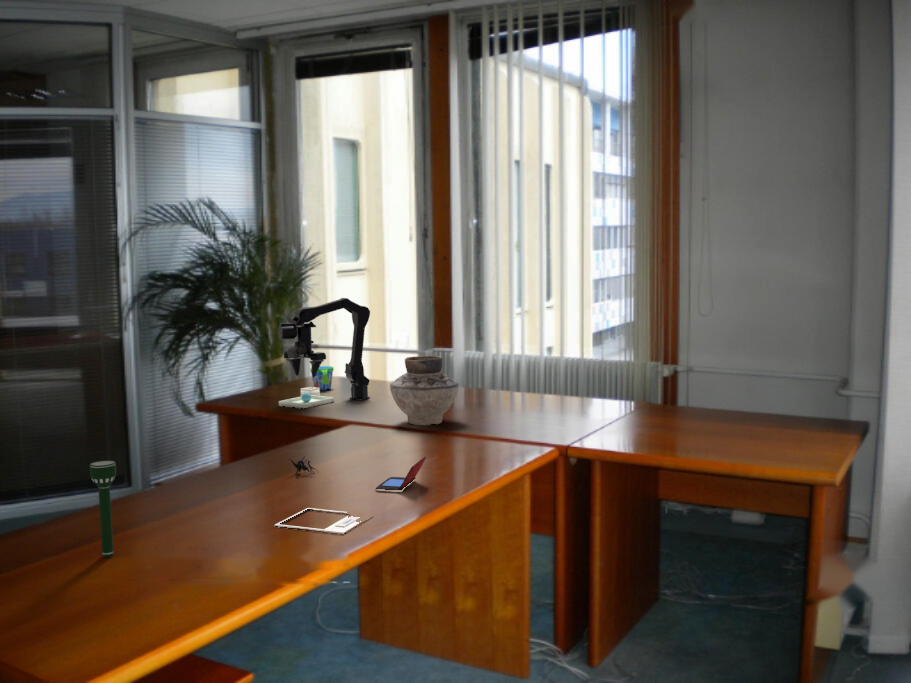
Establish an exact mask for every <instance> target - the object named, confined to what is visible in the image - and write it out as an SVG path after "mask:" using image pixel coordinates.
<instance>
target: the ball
mask: <svg viewBox="0 0 911 683" xmlns="http://www.w3.org/2000/svg"><path fill="white" fill-rule="evenodd" d="M300 397H301V396H300ZM301 398H302V400H303V401H304V402H309V401H310V400H311V395H310V394H309V393H304V394H302V397H301Z"/></svg>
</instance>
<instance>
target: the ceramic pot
mask: <svg viewBox="0 0 911 683" xmlns="http://www.w3.org/2000/svg"><path fill="white" fill-rule="evenodd" d="M404 365H405V370H406V373H403V374H402V375H400V376H399V377H397V378H395V379H394V380H393V381H392V382H391V383H390V384H389V390H390V393H391V396H392V398H393V401H394V402H395V404H396V406H397V407H398V408H399V409H400V411H401V412H402V413H404V415H406V417H407V423H409V424H411V425H413V424H414V426H415V425H416V426H432V425H431V424H436V425H439V424H441V423H442V422H443V415H444V414H445V413H446V412H447V411H448V410H449V409H450V408H451V406H452V405H453V404H454V402H455V399H456V398H457V395H458V392H459V386H460V384H459V383H458V382H457V381H456V380H455V379H453V378H452V377H450V376H449V375H447V374H445V373H442V372H441V371H442V368H443V358H442V356H439V355H417V356H408V357H405V358H404Z"/></svg>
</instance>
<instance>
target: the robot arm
mask: <svg viewBox="0 0 911 683" xmlns="http://www.w3.org/2000/svg"><path fill="white" fill-rule="evenodd" d="M342 309H344V310H346V311H347V312H348V313H350V314H351V320H352V324H353V333H352V344H351V354H350V361H349V362H348V363H346V362H345V364H344V366H345V370H344V373H345V377H346V378H347V379H348V380H349V382H350V384H351V388H350V391H351V392H350V393H351V394H350V395H351V397H349V399H350V400H356V399H363V400H366V399H365V398H368V399H370V398H371V396H368V395H369V392H368V390H369V389H368V388H369V387H368V386H369V384H370V382H371V381H370V379H369V378H368V377H367V376H365V369H364V365H363V351H364V338H365V329H366V326H367V325H368V323H369V319H370V315H371V310H370V309H369V307H367V306H366V305H365V306H364V305H360V304H359V303H356V302H354V301H352V300H350V299H349V298H348V297H341V298H339V299H337V300H336V299H335V300H332V301H329V302H326V303H323V304H319V305H317V306H307V307H299V308H297V309H296V310H295V313H294V317H293V318H292V319H291V321H290V322H289V323H287V322H286V323H284V322H280V323H279V327H278V331H277V335H278V339H279V340H280V341H285V340H289V341H290V340H295V339H297V340H296V341H295V342H294V346H292V347H290V348H288V349H287V350H286V351H285V352H284V353H283V359H286V361H288V362H289V363H290V364H291V366H292V369H293V372H294V374H295V376H296V377H298V376H299V374H300V368H301V358H303V359H305V358H307V359H309V364H311V368H312V374H311V378H312V377H315V376H316V373H317V371H318V369H319V367H320V366H322V363H323V362H324V361H325V360H327V355H326V353H325V352H322V351H321V352H315V351H314V350H313V348H312V347H313V345H312V344H314V343H315V341H314V340H312V328H317V325H316V324H314V322H313V320H315V319H316V318H318V317H320V316H322V315H326V314H329V313H332V312H335V311H338V310H342Z"/></svg>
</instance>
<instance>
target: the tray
mask: <svg viewBox="0 0 911 683" xmlns="http://www.w3.org/2000/svg"><path fill="white" fill-rule="evenodd" d="M301 397H302V396H301V395H300V396H297V397H293V398H292V397H291V398H287V399H283V400H278V407H283V406H285V407H284V408H292V407H295V408H294V409H301V408H303V409H302V410H305V409H304V408H306V409H310V408H313V407H314V406H315V407H318V405H319V406H323V404H324V405H328V404H331V402H333V403H335V398H334V397H332V396H325V395H324V396H322V395H320V396H315V395H311V400H310V401H309V402H304V401H303V400H302V398H301ZM327 403H328V404H327ZM309 407H310V408H309Z"/></svg>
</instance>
